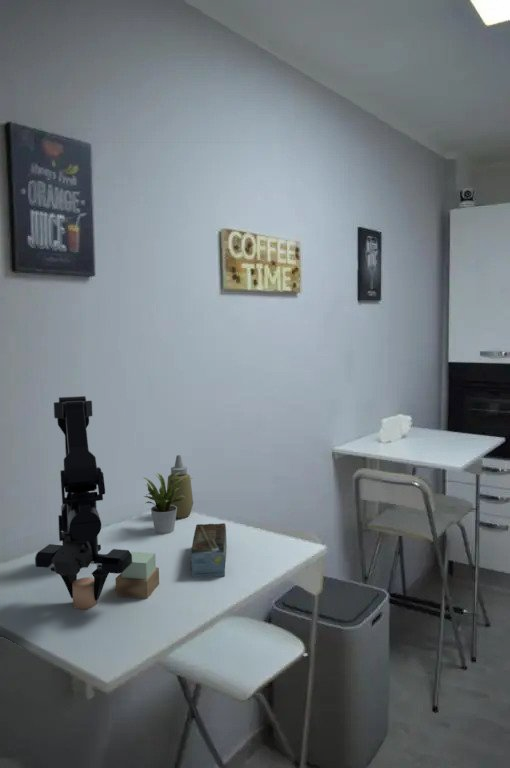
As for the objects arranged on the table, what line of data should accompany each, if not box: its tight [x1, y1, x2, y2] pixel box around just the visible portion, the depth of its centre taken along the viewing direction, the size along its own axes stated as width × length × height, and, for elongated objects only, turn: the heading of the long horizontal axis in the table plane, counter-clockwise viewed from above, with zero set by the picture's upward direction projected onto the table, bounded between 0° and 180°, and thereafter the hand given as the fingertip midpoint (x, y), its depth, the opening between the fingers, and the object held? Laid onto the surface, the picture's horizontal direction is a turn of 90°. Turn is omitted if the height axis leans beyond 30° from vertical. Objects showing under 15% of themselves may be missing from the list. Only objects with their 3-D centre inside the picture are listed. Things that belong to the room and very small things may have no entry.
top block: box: [122, 551, 157, 579], centre depth 132 cm, size 6×6×4 cm
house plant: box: [143, 472, 194, 535], centre depth 168 cm, size 14×14×16 cm
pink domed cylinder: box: [72, 577, 98, 610], centre depth 126 cm, size 5×5×4 cm
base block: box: [115, 566, 160, 599], centre depth 132 cm, size 7×7×4 cm
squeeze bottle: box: [166, 454, 194, 519], centre depth 180 cm, size 8×8×18 cm
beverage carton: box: [190, 523, 228, 578], centre depth 148 cm, size 8×19×7 cm, turn 1°
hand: (85, 598), depth 126 cm, fingers closed on pink domed cylinder, 5 cm apart
